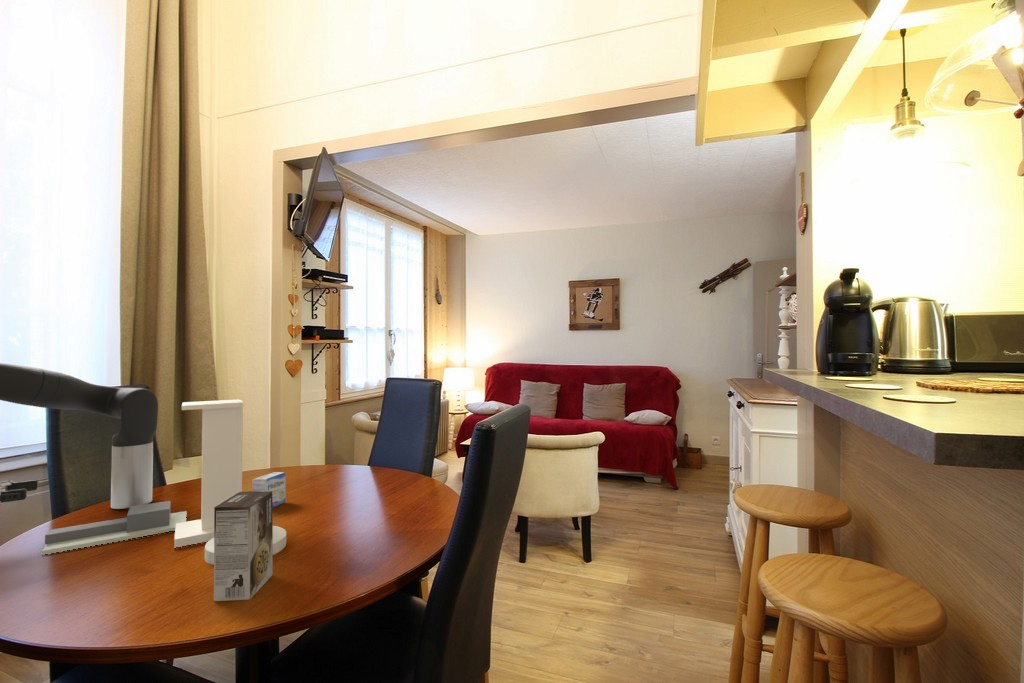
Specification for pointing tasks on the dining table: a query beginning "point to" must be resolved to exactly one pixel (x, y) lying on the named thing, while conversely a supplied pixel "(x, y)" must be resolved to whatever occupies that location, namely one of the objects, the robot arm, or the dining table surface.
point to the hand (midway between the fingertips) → (32, 489)
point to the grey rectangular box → (242, 545)
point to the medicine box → (272, 486)
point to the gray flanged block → (116, 523)
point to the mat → (113, 536)
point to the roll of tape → (278, 544)
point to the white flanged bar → (215, 465)
